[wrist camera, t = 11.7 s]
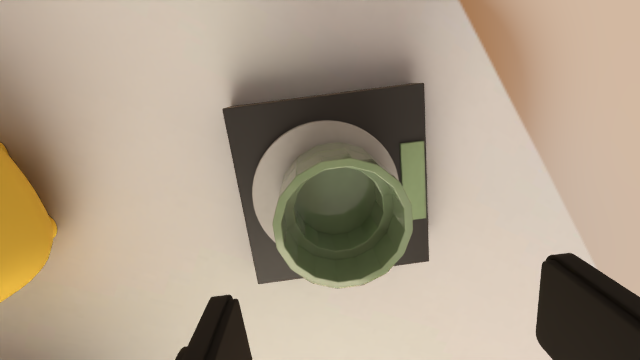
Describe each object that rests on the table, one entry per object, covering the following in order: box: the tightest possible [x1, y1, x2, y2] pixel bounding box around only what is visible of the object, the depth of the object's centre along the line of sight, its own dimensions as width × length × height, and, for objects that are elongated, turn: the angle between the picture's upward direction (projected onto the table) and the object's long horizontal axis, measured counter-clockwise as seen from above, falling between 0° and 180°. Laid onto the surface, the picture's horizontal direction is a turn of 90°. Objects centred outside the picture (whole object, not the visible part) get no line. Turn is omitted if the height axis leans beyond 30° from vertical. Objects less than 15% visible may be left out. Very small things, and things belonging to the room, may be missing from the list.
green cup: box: [272, 142, 413, 288], centre depth 19 cm, size 7×7×5 cm
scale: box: [223, 83, 429, 284], centre depth 23 cm, size 13×13×3 cm
